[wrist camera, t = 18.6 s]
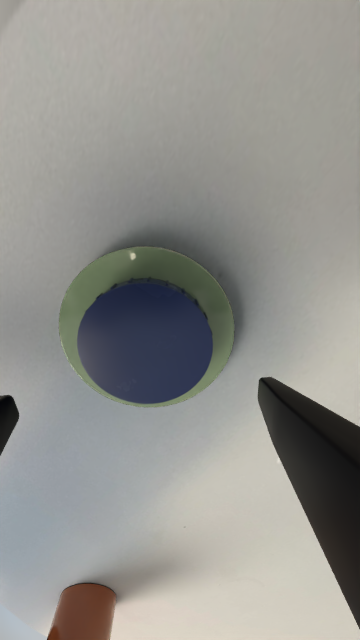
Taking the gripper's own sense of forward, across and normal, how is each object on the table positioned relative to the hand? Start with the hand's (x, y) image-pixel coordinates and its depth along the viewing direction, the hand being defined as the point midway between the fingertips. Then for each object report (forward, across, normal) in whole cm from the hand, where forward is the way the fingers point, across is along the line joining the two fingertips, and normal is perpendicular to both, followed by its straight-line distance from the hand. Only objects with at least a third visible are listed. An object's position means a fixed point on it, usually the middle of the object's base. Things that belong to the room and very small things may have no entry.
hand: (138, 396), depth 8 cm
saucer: (+6, 0, 0) cm, 6 cm away
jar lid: (+4, 0, 0) cm, 4 cm away
